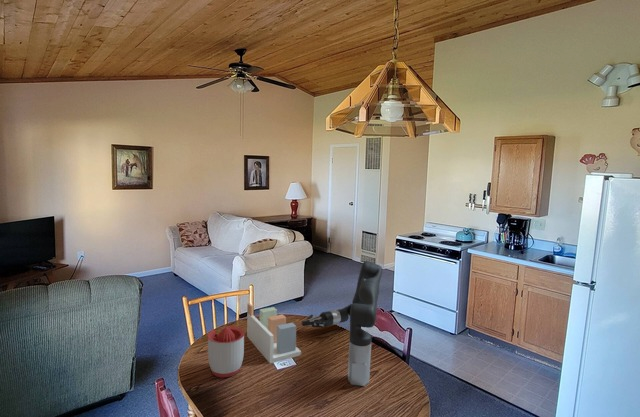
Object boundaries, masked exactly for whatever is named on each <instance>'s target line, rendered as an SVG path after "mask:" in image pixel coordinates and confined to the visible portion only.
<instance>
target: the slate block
mask: <svg viewBox="0 0 640 417" xmlns="http://www.w3.org/2000/svg"><path fill="white" fill-rule="evenodd" d="M296 347H297V325H296V324H295V323H294V322H289V323H287V322H286V324H283V325H278V326H277V351H278V352H279V353H280V354H282V353H286V352H290V351H294V350H296Z"/></svg>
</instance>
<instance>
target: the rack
mask: <svg viewBox="0 0 640 417" xmlns="http://www.w3.org/2000/svg"><path fill="white" fill-rule="evenodd" d="M253 306H254V305H252V304H251V303H249V302H247V312H246V313H247V316H246V320H247V321H246V324H247V325H246V328H247V329H246V330H247V332H246V337H247V338H248V339H249V341H250V342H251V343H252V344H253V345H254V346H255V347H256V348H257V350H258V351H259V352H260V354H261V355H262V356H263V357H264V358H265V359H266V361H267V362H268V363H269V364H274V363H276V362H281V361H284V360H288V359H292V358H297V357H300V356H302V350H300V349H299V347H297V346H296V350H294V351H290V352H286V353H282V354H280V353H279V352H278V351H277V343H274V335H273V334H272V333H271V332H270V331H269V330H268V329H267V328H266V327H265V326H264V325H263V324H262V323H261V322H260V321H259V319H258V318H257V317H256V316H255V315H254V312H253V311H254V307H253Z"/></svg>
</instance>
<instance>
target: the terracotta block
mask: <svg viewBox="0 0 640 417" xmlns="http://www.w3.org/2000/svg"><path fill="white" fill-rule="evenodd" d="M283 324H287V317H286V316H285V315H284V314H277V316H271V317H268V330H269V331H270V332H271V333H272V334H273V335H274V343H277V326H278V325H283Z"/></svg>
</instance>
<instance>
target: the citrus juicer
mask: <svg viewBox="0 0 640 417" xmlns="http://www.w3.org/2000/svg"><path fill="white" fill-rule="evenodd" d="M245 334H246V332H245V331H244V329H242V328H241V327H239V326H232V325H228V326H226V325H225V326H224V328H223V329H222V330H221V331H220V332H219V333H216V330H214V329H211V330H210V331H209V332H208V333H207V358H208V365H209V368H210V370H211V372H212V374H213V375H214V376H216V377H218V378H220V379H221V378H230V377H233V376H235V375H237V374H238V373H239V372H240V370H241V368H242V364H243V360H244V353H245Z"/></svg>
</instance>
